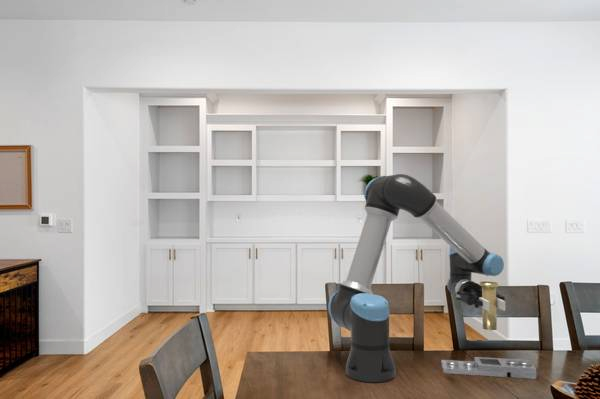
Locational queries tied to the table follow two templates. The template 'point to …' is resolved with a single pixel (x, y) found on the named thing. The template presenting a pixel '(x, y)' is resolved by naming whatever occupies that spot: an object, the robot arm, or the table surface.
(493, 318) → the brass pin
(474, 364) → the chain end
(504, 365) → the chain end
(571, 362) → the table surface
